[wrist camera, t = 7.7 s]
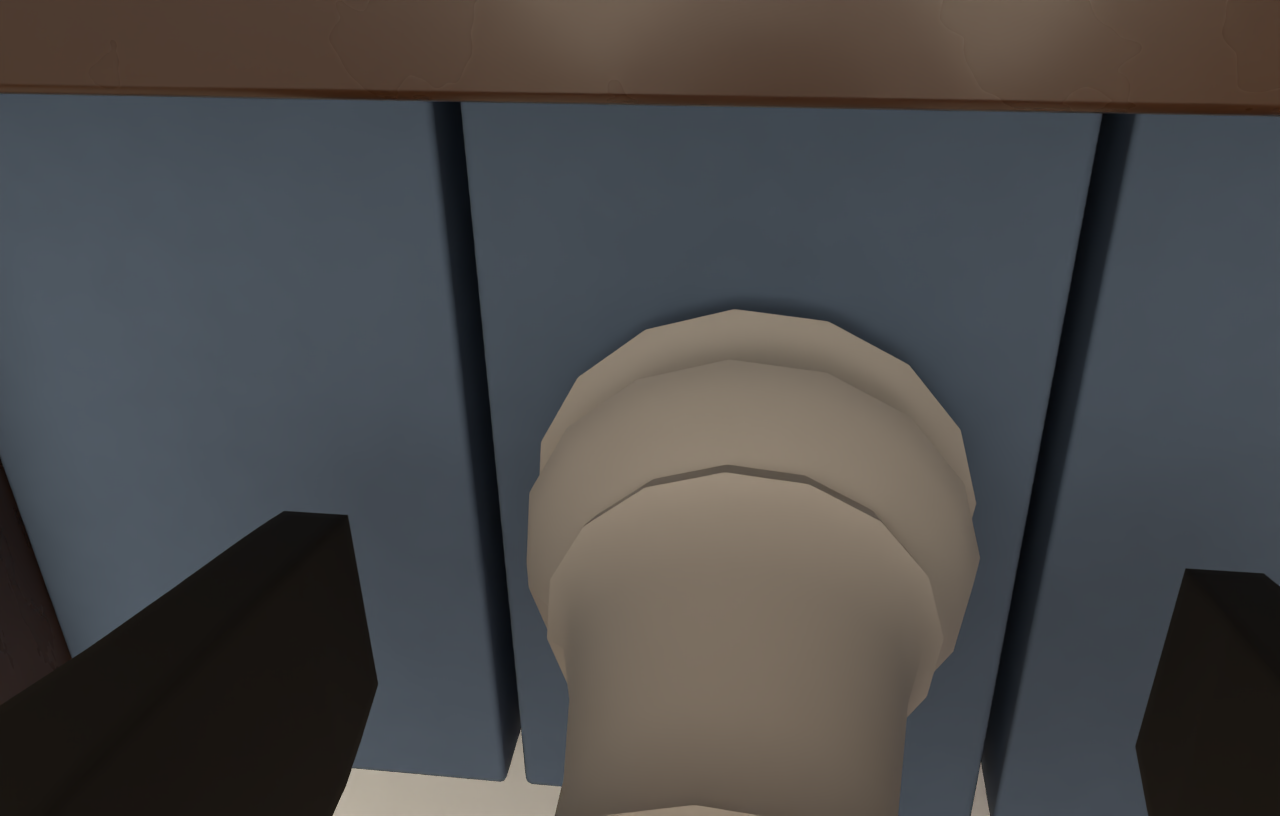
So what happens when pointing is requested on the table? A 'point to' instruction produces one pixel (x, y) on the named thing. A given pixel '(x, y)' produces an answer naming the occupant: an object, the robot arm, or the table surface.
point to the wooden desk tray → (638, 317)
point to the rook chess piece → (747, 568)
